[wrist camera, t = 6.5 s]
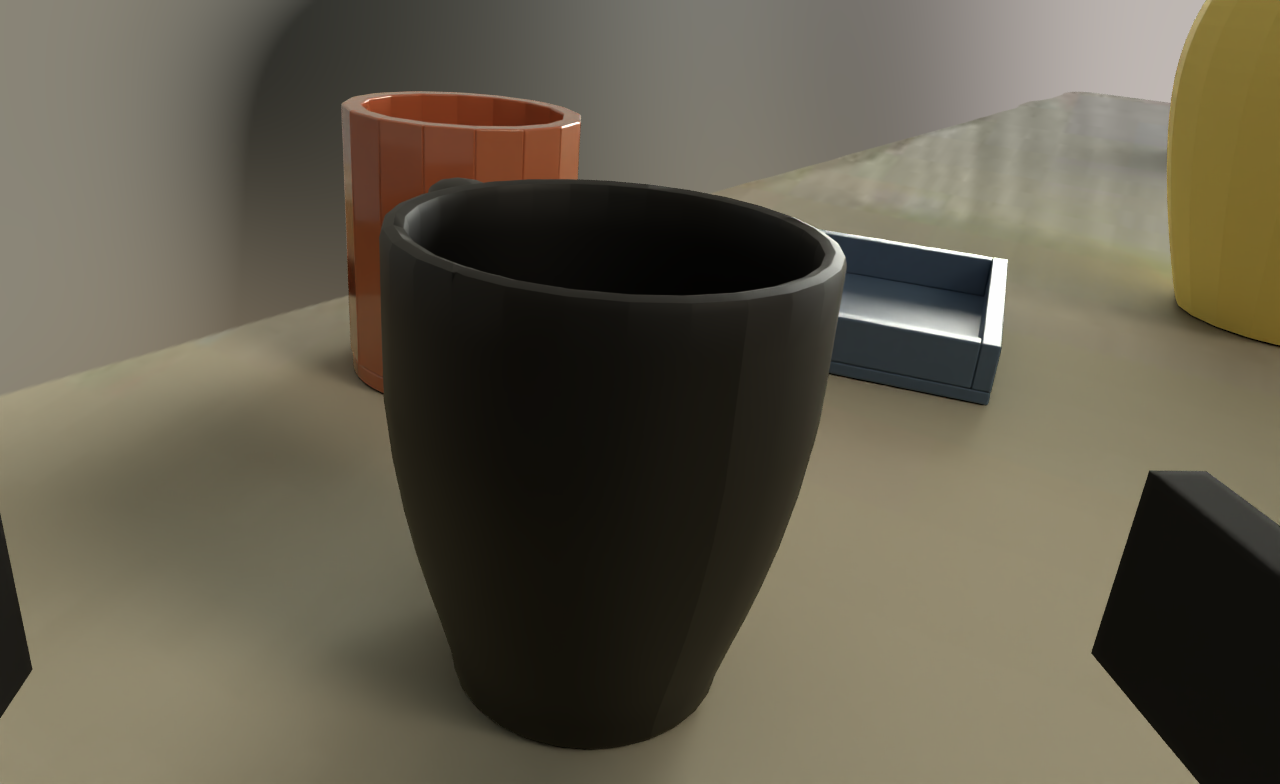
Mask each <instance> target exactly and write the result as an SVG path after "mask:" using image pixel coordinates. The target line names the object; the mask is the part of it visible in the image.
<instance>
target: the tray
mask: <svg viewBox="0 0 1280 784" xmlns="http://www.w3.org/2000/svg"><path fill="white" fill-rule="evenodd" d="M819 230H820V229H819ZM821 231H823V232H824V233H825V234H826V235H828V236H829V237H830V238H832V239H833V240H834V241H836V242H837V243H838V244H839V246H840V248H841V250H842V251H843V253H844V255H845V258H846V263H847V269H846V275H845V281H844V287H843V293H842V299H841V305H840V310H839V316H838V322H837V328H836V334H835V340H834V346H833V352H832V357H831V363H830V369H829V373H831V374H836V375H841V376H846V377H851V378H856V379H861V380H866V381H871V382H876V383H881V384H886V385H891V386H896V387H900V388H905V389H910V390H915V391H920V392H925V393H930V394H935V395H940V396H945V397H950V398H955V399H960V400H964V401H969V402H974V403H979V404H984V405H987V404H988V402H989V398H990V393H991V390H992V386H993V381H994V377H995V373H996V369H997V365H998V361H999V357H1000V353H1001V348H1002V334H1003V320H1004V306H1005V293H1006V279H1007V265H1008V260H1006V259H1000V258H993V259H992V257H987V256H981V255H975V254H969V253H962V252H956V251H950V250H944V249H938V248H932V247H925V246H919V245H913V244H907V243H901V242H895V241H888V240H882V239H876V238H870V237H864V236H857V235H851V234H845V233H839V232H833V231H827V230H821Z"/></svg>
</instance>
